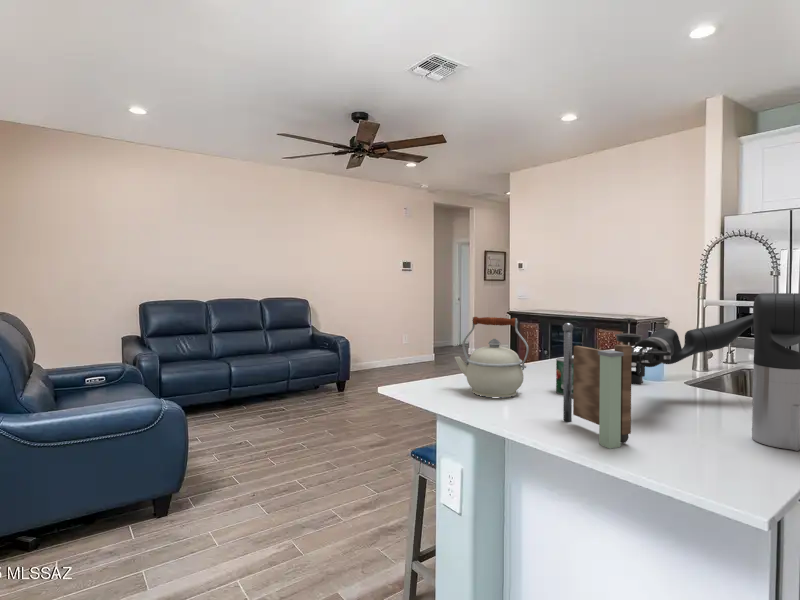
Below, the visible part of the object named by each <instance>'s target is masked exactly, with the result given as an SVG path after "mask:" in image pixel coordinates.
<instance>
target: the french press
mask: <svg viewBox="0 0 800 600" xmlns="http://www.w3.org/2000/svg"><path fill="white" fill-rule="evenodd" d="M622 320H624V321H627V324H628V332H626V333H624V332H623V333H615V335H614V336H616V342H620V343H627V345H629V346H630V343H638V342H639V341H641V340H643V339H642V338H643V337H644V335H641V334H636V333H630V330H631V329H630V325H631V323H632V321H636V318H633V317H626V318H622ZM632 348H634V346H633V347H632ZM632 368H635V370H631V385H641V383H642V384H644V381H643V377H645V376H646V367H645V366H642V365H641V364H639V363H632V366H631V369H632Z"/></svg>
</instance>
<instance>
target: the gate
mask: <svg viewBox="0 0 800 600" xmlns="http://www.w3.org/2000/svg"><path fill="white" fill-rule="evenodd" d="M598 351H605V350H604V349H598V348H595V347H594V348H593V347H587V346H581V345H573V357H572V358H571V363H572V364H574V379H573V393H570V398H572V400H573V401H572V404H573V405H572V409H573V410H572V413H573V414H572V415H573V416H576V417H578V418H581V419H583V420H586V421H587V422H590V423H592V424H593V423H594V424H597V425H598V426H599V411H600V355H598ZM614 351H619V352H624V356H621V438H620V444H621V443H622V444H626V443H627V442H628V440H629V438H630V437H629V435H631V433H632V384H631V371H632V368H631V366H632V345H630V344H629V345H628V344H614Z"/></svg>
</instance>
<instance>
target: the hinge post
mask: <svg viewBox="0 0 800 600" xmlns="http://www.w3.org/2000/svg"><path fill="white" fill-rule="evenodd" d="M562 331H563V358H564V395H563V410H562V411H563V415H562V417H563V422H566V423H571V422H572V419H573V418H572V417H573V416H572V415H573V414H572V413H573V410H572V409H573V405H572V404H573V401H572V400H573V399H572V398H570V393H572V363H571V358H573V331H574V325H573V324H572V323H570V322H565V323H564V324H563V325H562Z"/></svg>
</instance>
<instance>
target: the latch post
mask: <svg viewBox="0 0 800 600" xmlns="http://www.w3.org/2000/svg"><path fill="white" fill-rule="evenodd" d="M598 355H600V411H599V425H598V427H599V430H598V444H599V446H600V445H601V446H602V447H605V448H607V449H609V450H610V449H616V448H621V442H620V438H621V356H624V352H619V351H615V350H611V349H609V350H608V349H607V350H605V351H598Z"/></svg>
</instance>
